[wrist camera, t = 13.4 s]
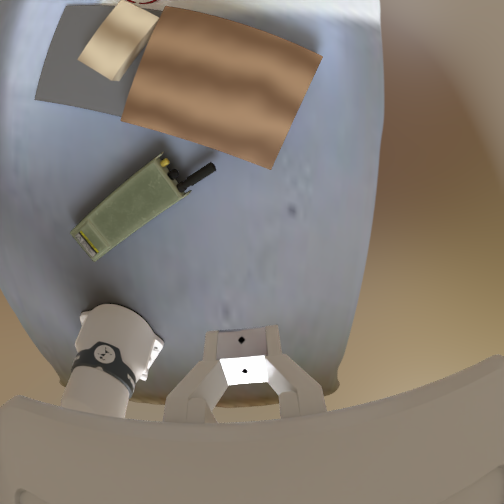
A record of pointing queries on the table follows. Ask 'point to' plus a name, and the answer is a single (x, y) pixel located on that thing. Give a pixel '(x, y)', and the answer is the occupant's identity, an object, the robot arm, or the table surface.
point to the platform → (220, 84)
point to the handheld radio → (133, 206)
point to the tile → (119, 40)
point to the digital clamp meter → (142, 3)
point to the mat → (83, 65)
